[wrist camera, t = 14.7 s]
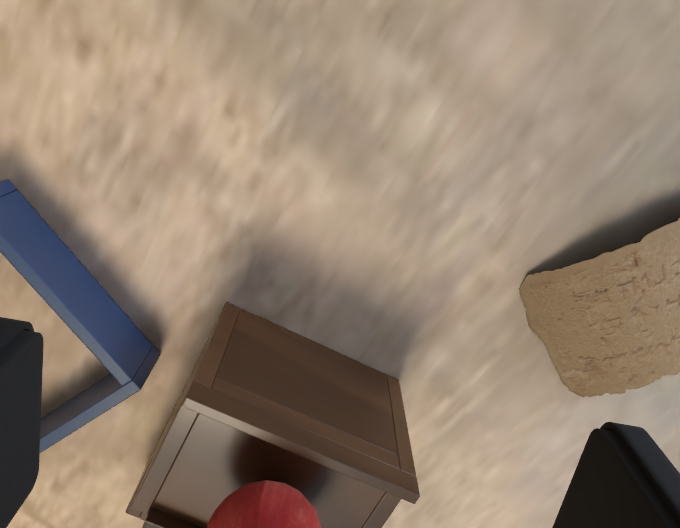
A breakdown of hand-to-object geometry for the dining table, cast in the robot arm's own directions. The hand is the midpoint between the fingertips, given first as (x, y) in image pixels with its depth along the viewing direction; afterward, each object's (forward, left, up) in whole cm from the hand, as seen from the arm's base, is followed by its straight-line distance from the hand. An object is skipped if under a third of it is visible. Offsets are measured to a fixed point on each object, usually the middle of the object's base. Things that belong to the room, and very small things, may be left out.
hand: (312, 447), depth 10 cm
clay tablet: (+19, +12, -28) cm, 36 cm away
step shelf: (+14, -15, -28) cm, 35 cm away
